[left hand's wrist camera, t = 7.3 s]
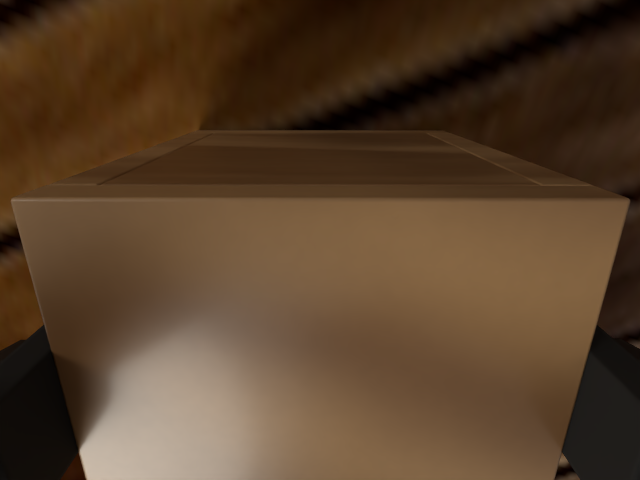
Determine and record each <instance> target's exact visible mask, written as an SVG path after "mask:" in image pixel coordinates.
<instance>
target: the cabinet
mask: <svg viewBox="0 0 640 480" xmlns="http://www.w3.org/2000/svg"><path fill="white" fill-rule="evenodd" d="M11 204H12V208H13V211H14V215H15V219H16V222H17V226H18V230H19V233H20V237H21V241H22V244H23V248H24V252H25V256H26V259H27V263H28V267H29V270H30V274H31V278H32V281H33V285H34V289H35V292H36V296H37V300H38V303H39V307H40V311H41V315H42V318H43V322H44V326H45V329H46V333H47V337H48V340H49V344H50V348H51V351H52V355H53V359H54V363H55V366H56V370H57V374H58V377H59V381H60V385H61V388H62V392H63V396H64V399H65V403H66V407H67V410H68V414H69V418H70V422H71V425H72V429H73V433H74V436H75V440H76V444H77V447H78V451H79V455H80V458H81V462H82V466H83V470H84V473H85V477H86V480H554V479H555V475H556V471H557V468H558V464H559V460H560V457H561V453H562V449H563V446H564V442H565V439H566V435H567V431H568V428H569V424H570V420H571V417H572V413H573V409H574V406H575V402H576V398H577V395H578V391H579V387H580V384H581V380H582V376H583V373H584V369H585V365H586V362H587V358H588V355H589V351H590V347H591V344H592V340H593V336H594V333H595V329H596V325H597V322H598V318H599V314H600V311H601V307H602V303H603V300H604V296H605V292H606V289H607V285H608V281H609V278H610V274H611V271H612V267H613V263H614V260H615V256H616V252H617V249H618V245H619V241H620V238H621V234H622V230H623V227H624V223H625V219H626V216H627V212H628V208H629V205H630V200H629V199H628V198H626V197H624V196H621V195H618V194H615V193H613V192H610V191H607V190H604V189H602V188H599V187H596V186H593V185H591V184H589V183H586V182H583V181H580V180H578V179H575V178H572V177H569V176H567V175H564V174H561V173H559V172H556V171H553V170H550V169H548V168H545V167H542V166H539V165H537V164H534V163H531V162H528V161H526V160H523V159H520V158H518V157H515V156H512V155H509V154H507V153H504V152H501V151H498V150H496V149H493V148H490V147H487V146H485V145H482V144H479V143H477V142H474V141H471V140H468V139H466V138H463V137H460V136H457V135H455V134H452V133H449V132H446V131H443V130H197V131H194V132H192V133H189V134H186V135H184V136H181V137H178V138H176V139H173V140H170V141H167V142H165V143H162V144H159V145H156V146H154V147H151V148H148V149H145V150H143V151H140V152H137V153H134V154H132V155H129V156H126V157H124V158H121V159H118V160H115V161H113V162H110V163H107V164H104V165H102V166H99V167H96V168H93V169H91V170H88V171H85V172H82V173H80V174H77V175H74V176H72V177H69V178H66V179H63V180H61V181H58V182H55V183H53V184H50V185H46V186H43V187H40V188H38V189H35V190H32V191H29V192H27V193H24V194H21V195H18V196H16V197H13V198H12V199H11Z"/></svg>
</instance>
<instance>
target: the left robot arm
mask: <svg viewBox="0 0 640 480" xmlns="http://www.w3.org/2000/svg"><path fill="white" fill-rule="evenodd" d="M78 452H79V451H78V447H77V444H76V440H75V436H74V433H73V429H72V425H71V422H70V418H69V414H68V410H67V407H66V403H65V399H64V396H63V392H62V388H61V385H60V381H59V377H58V374H57V370H56V366H55V363H54V359H53V355H52V351H51V348H50V344H49V340H48V337H47V333H46V329H45V326H44V325H43V326H42V327H41V328H40V329H38V330H37V331H36V332H35V333H34V334H33V335H31V336H30V337H29V338H28V339H27V340H20V341H18V342H16V343H14V344H12V345H10V346H9V347H7V348H5V349H3V350H1V351H0V480H60V479H61V477H62V476H63V474H64V473H65V471H66V470H67V468H68V467H69V465H70V464H71V462H72V461H73V459H74V458H75V456H76V455H77V453H78ZM562 453H563V454H564V456H565V457H566V459H567V460H568V462H569V463H570V465H571V466H572V468H573V469H574V471H575V472H576V474H577V475H578V477H579V478H580V480H640V349H639V348H637V347H635V346H633V345H631V344H629V343H628V342H626V341H624V340H622V339H613V338H611V337H610V336H609V335H608V334H607V333H606V332H604V331H603V330H602V329H601V328H600V327H599V326H598V325H596V329H595V333H594V336H593V340H592V344H591V347H590V351H589V355H588V358H587V362H586V365H585V369H584V373H583V376H582V380H581V384H580V387H579V391H578V395H577V398H576V402H575V406H574V409H573V413H572V417H571V420H570V424H569V428H568V431H567V435H566V439H565V442H564V446H563V449H562Z"/></svg>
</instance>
